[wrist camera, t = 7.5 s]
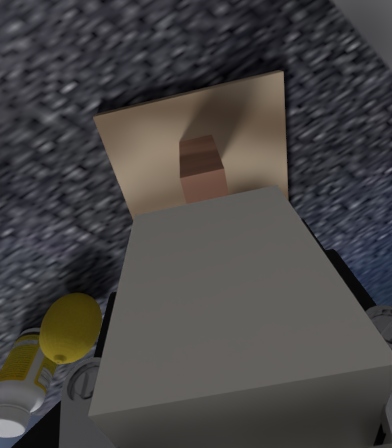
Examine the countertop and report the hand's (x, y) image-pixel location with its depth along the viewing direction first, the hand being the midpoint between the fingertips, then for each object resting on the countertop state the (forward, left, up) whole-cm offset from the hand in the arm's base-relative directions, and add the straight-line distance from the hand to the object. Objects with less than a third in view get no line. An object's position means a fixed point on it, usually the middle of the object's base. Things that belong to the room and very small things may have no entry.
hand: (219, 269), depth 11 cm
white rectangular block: (0, 0, -1) cm, 1 cm away
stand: (-5, 0, -15) cm, 16 cm away
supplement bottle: (-20, +24, -15) cm, 35 cm away
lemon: (-14, +16, -15) cm, 26 cm away
